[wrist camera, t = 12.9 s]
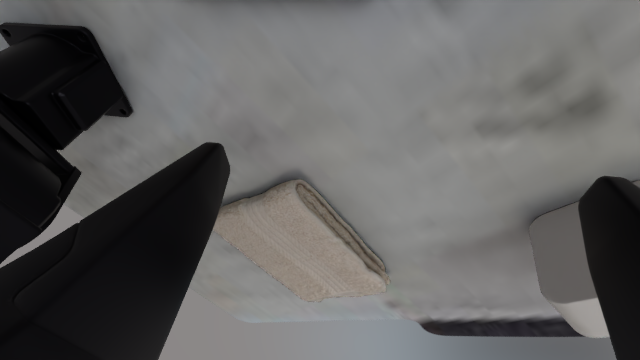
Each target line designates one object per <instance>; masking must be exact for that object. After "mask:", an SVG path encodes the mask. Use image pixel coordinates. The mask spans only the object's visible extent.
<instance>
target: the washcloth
mask: <svg viewBox="0 0 640 360" xmlns="http://www.w3.org/2000/svg"><path fill="white" fill-rule="evenodd" d="M213 230H214V231H215V232H217V233H218V234H219V235H220V236H221V237H222V238H224V239H225V240H226V241H228V243H230V244H231V245H233V246H235V247H236V248H238V250H240V251H241V252H242V253H243V254H245V256H246V257H248V258H249V259H250V260H251V261H253V262H254V263H255V264H256V265H258V266H259V267H261V268H263V269H264V270H265V271H266V273H268V274H270V275H271V276H272V277H273V278H275V279H276V280H278V281H280V282H281V283H282V284H283V285H285V286H286V287H287V288H288V289H290V290H291V291H292V292H293V293H295V294H296V295H297V296H299V297H300V298H301V299H303V300H305V301H308V302H315V301H316V302H321V301H322V300H323V299H327V298H333V297H361V296H367V295H373V294H381V293H385V292H386V285H389V284H390V279H389V277H388V276H387V275H386V273H385V266H384V264H383V263H382V261H381V260H380V259H379V258H378V257H377V256H376V255H375V254H374V253H373V252H372V251H371V250H369V249H368V248H367V246H366V245H365V244H364V242H363V241H362V240H361V239H360V237H359V236H358V235H357V234H356V233H355V232H354V231H353V230H352V228H351V227H350V226H349V225H348V224H346V223H345V222H344V221H343V220H342V218H340V216H339V215H338V214H337V213H336V212H335V211H334V209H333V208H332V207H331V206H330V205H329V204H328V203H327V202H326V201H325V199H323V198H322V196H321V195H320V194H319V193H318V192H317V191H316V190H315V189H314V188H313V187H312V186H310V185H309V184H308V183H306V182H305V181H303V180H301V179H297V180H290V181H288V182H284V183H282V184H279V185H278V186H275V187H272V188H271V189H269V190H268V191H267V192H264V193H263V194H260V195H257V196H254V197H251V198H249V199H248V198H243V199H242V200H238V201H236V202H233V203H231V204H228V205H225V206H223V207H221V208H220V210H219V213H218V216H217V219H216V222H215V225H214V227H213Z"/></svg>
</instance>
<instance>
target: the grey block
mask: <svg viewBox="0 0 640 360" xmlns="http://www.w3.org/2000/svg"><path fill="white" fill-rule="evenodd" d="M632 183H633V184H635V185H636V186H638V187H639V188H640V181H635V182H632ZM578 204H579V201H578V202H576V203H573V204H570V205H568V206H565V207H562V208H559V209H557V210H554V211H551V212H548V213H546V214H543V215H541V216H540V217H538V218H537V219H536V220H534V221H533V223H532V224H531V226H530V228H529V235H530V240H531V245H532V250H533V256H534V261H535V266H536V271H537V276H538V281H539V285H540V290H541V293H542V294H543V296H544V297H545V298H546V299H547V301H548V302H549V303H550V304H551V305H552V306H553V307H554V308H555V309H556V310H557V311H558V312H559V313H560V315H561V316H562V317H563V318H564V319H565V320H566V321H567V322H568V323H569V324H570V325H571V326H572V328H573V329H574V330H575V331H577V332H578V333H580V334H582V335H584V336H587V337H591V338H604V337H610V336H609V333H608V329H607V326H606V323H605V320H604V317H603V313H602V310H601V307H600V304H599V301H598V297H597V294H596V291H595V288H594V284H593V281H592V278H591V274H590V271H589V267H588V262H587V257H586V252H585V246H584V240H583V235H582V229H581V223H580V218H579V212H578Z"/></svg>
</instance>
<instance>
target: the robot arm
mask: <svg viewBox="0 0 640 360" xmlns="http://www.w3.org/2000/svg"><path fill="white" fill-rule="evenodd" d="M0 33H1V35H2V36H3V37H4V39H5V40H6V41H7V43H8V44H9V45H10V47H8V48H6V49H4V50H2V51H0V264H1V263H2V262H3V261H4V260H5V259H6V258H7V257H8V256H9V255H11V254H12V253H13V252H14V251H15V250H17V249H18V248H20V247H22V246H24V245H26V244H27V243H29V242H30V241H32V240H33V239H35V238H36V237H37V236H39V235H40V234H41V233H42V232H43V231H44V230H45V229H46V228H47V227H48V226H49V225H50V224H51V223H52V221H53V220H54V218H55V217H56V215H57V214H58V212H59V210H60V209H61V207H62V205H63V204H64V202H65V200H66V199H67V197H68V195H69V194H70V192H71V190H72V189H73V187H74V185H75V184H76V182H77V180H78V179H79V177H80V175H81V171H80V170H78V169H77V168H76V167H75V166H74V167H73V166H72V165H71V164H70V163H69V162H68V161H67V160H66V159H65V158H64V157H63V156H62V155H61V154H59V153H58V152H57V150H63V149H64V148H65V147H66V146H68V145H69V144H70V143H71V142H72V141H73V140H74V139H75V138H76V137H78V136H79V135H80V134H81V133H82V132H83V131H86V130H88V129H89V128H90V127H91V126H92V125H93V124H94V123H96V122H97V121H98V120H99V119H100V118H101V117H102V116H103V115H108V116H119V117H129V116H130V115H131V114H132V113H133V110H132V108H131V106H130V104H129V102H128V100H127V99H126V97H125V95H124V93H123V91H122V89H121V87H120V85H119V83H118V81H117V80H116V78H115V76H114V74H113V72H112V70H111V68H110V66H109V64H108V63H107V61H106V59H105V57H104V55H103V53H102V51H101V49H100V47H99V45H98V44H97V42H96V40H95V38H94V36H93V34H92V33H91V32H90V31H89V30H88V29H87V28H85V27H82V26H63V25H44V24H24V23H3V24H1V25H0ZM82 34H83V35H84V36H85V37H84V36H83V35H82ZM229 175H230V165H229V162H228V159H227V156H226V153H225V150H224V147H223V146H222V144H220V143H212V142H206V143H204V144H202V145H201V146H199V147H197V148H196V149H194V150H193V151H191V152H189V153H188V154H186V155H185V156H183V157H181V158H180V159H178V160H177V161H175V162H174V163H172V164H170V165H169V166H167V167H166V168H164V169H162V170H161V171H159V172H158V173H156V174H154V175H153V176H151V177H150V178H148V179H146V180H145V181H143V182H142V183H140V184H138V185H137V186H135V187H134V188H132V189H130V190H129V191H127V192H126V193H124V194H122V195H121V196H119V197H118V198H116V199H114V200H113V201H111V202H110V203H108V204H106V205H105V206H103V207H102V208H100V209H98V210H97V211H95V212H94V213H92V214H90V215H89V216H87V217H86V218H84V219H83V220H81V221H80V223H76V224H74V225H73V226H71V227H70V228H68V229H66V230H65V231H63V232H62V233H60V234H59V235H57V236H55V237H54V238H52V239H50V240H49V241H47V242H45V243H44V244H42V245H40V246H39V247H37V248H35V249H34V250H32V251H30V252H28V253H26V254H25V255H23V256H21V257H19V258H18V259H16V260H14V261H12V262H11V263H9V264H7V265H5V266H3V267H2V268H0V360H158V359H159V356H160V354H161V351H162V349H163V347H164V344H165V342H166V340H167V337H168V335H169V332H170V330H171V328H172V325H173V323H174V321H175V318H176V316H177V313H178V311H179V309H180V306H181V304H182V301H183V299H184V297H185V294H186V292H187V290H188V287H189V285H190V282H191V280H192V278H193V275H194V273H195V270H196V268H197V266H198V263H199V261H200V259H201V256H202V254H203V251H204V249H205V247H206V244H207V242H208V240H209V237H210V235H211V232H212V230H213V227H214V225H215V222H216V219H217V216H218V213H219V210H220V206H221V203H222V199H223V196H224V192H225V189H226V185H227V182H228V178H229ZM578 212H579V218H580V223H581V229H582V235H583V240H584V246H585V252H586V257H587V262H588V267H589V271H590V274H591V278H592V281H593V284H594V288H595V291H596V294H597V297H598V301H599V304H600V307H601V310H602V313H603V317H604V320H605V323H606V326H607V329H608V333H609V336H610V339H611V342H612V345H613V349H614V352H615V355H616V358H617V360H640V188H639V187H638V186H636V185H635V184H633V183H632V182H630V181H629V180H627V179H625V178H621V177H610V176H603V177H600V178H598V179H597V180H596V181H595V182H594V183H593V185H592V186H591V187H590V188H589V189H588V190H587V192H586V193H585V194H584V195H583V196H582V198H581V199H580V201H579V204H578Z"/></svg>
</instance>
